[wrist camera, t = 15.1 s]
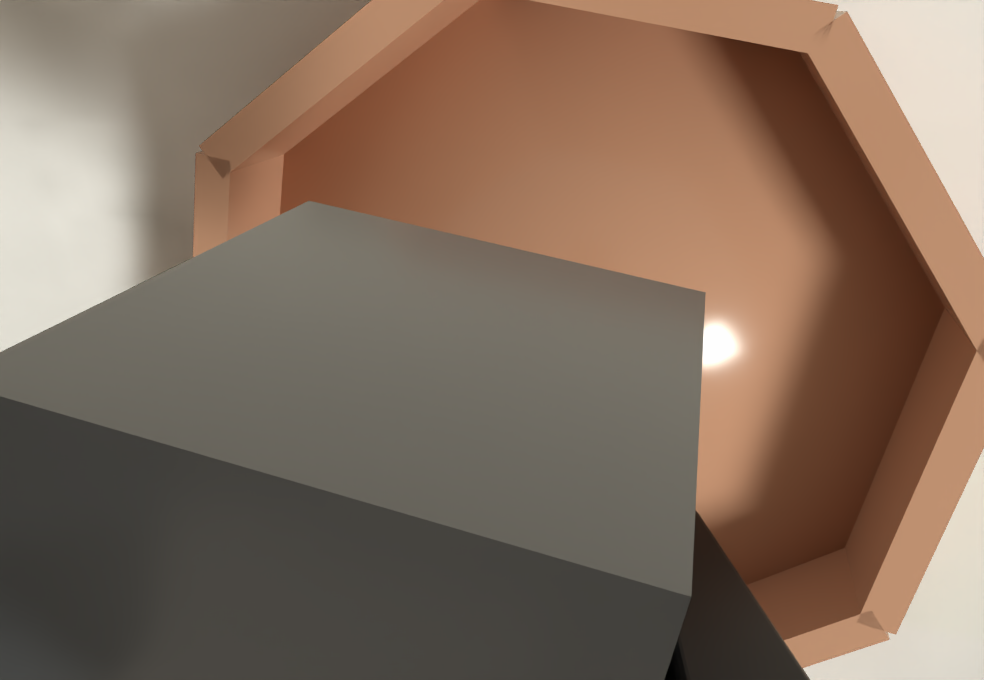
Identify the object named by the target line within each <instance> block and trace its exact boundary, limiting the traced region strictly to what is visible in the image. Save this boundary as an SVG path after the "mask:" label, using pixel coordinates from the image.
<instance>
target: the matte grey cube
mask: <svg viewBox="0 0 984 680" xmlns="http://www.w3.org/2000/svg"><path fill="white" fill-rule="evenodd" d="M705 294H706V292H702V291H697V290H693V289H689V288H684V287H680V286H676V285H671V284H667V283H663V282H658V281H654V280H650V279H645V278H641V277H637V276H633V275H628V274H624V273H620V272H615V271H611V270H607V269H602V268H598V267H594V266H589V265H585V264H581V263H576V262H572V261H568V260H563V259H559V258H555V257H550V256H546V255H542V254H537V253H533V252H529V251H524V250H520V249H516V248H512V247H507V246H503V245H499V244H494V243H490V242H486V241H481V240H477V239H473V238H468V237H464V236H460V235H455V234H451V233H447V232H442V231H438V230H434V229H429V228H425V227H421V226H416V225H412V224H408V223H403V222H399V221H395V220H390V219H386V218H382V217H378V216H373V215H369V214H365V213H360V212H356V211H352V210H347V209H343V208H339V207H334V206H330V205H326V204H321V203H317V202H313V201H307V202H305V203H303V204H301V205H299V206H297V207H295V208H293V209H291V210H289V211H287V212H285V213H283V214H281V215H279V216H277V217H275V218H273V219H271V220H269V221H267V222H265V223H263V224H260V225H258V226H256V227H254V228H252V229H250V230H248V231H246V232H244V233H242V234H240V235H238V236H236V237H234V238H232V239H230V240H228V241H226V242H224V243H222V244H220V245H218V246H216V247H214V248H212V249H210V250H208V251H206V252H203V253H201V254H199V255H197V256H195V257H193V258H191V259H189V260H187V261H185V262H183V263H181V264H179V265H177V266H175V267H173V268H171V269H169V270H167V271H165V272H163V273H161V274H159V275H157V276H155V277H153V278H151V279H149V280H146V281H144V282H142V283H140V284H138V285H136V286H134V287H132V288H130V289H128V290H126V291H124V292H122V293H120V294H118V295H116V296H114V297H112V298H110V299H108V300H106V301H104V302H102V303H100V304H98V305H96V306H94V307H92V308H89V309H87V310H85V311H83V312H81V313H79V314H77V315H75V316H73V317H71V318H69V319H67V320H65V321H63V322H61V323H59V324H57V325H55V326H53V327H51V328H49V329H47V330H45V331H43V332H41V333H39V334H37V335H35V336H32V337H30V338H28V339H26V340H24V341H22V342H20V343H18V344H16V345H14V346H12V347H10V348H8V349H6V350H4V351H2V352H0V680H664V679H665V676H666V673H667V670H668V667H669V664H670V661H671V658H672V655H673V652H674V649H675V646H676V643H677V640H678V636H679V633H680V630H681V627H682V624H683V621H684V618H685V615H686V612H687V609H688V606H689V603H690V600H691V595H692V574H693V552H694V531H695V509H696V487H697V466H698V444H699V423H700V401H701V380H702V358H703V337H704V315H705Z"/></svg>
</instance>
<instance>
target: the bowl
mask: <svg viewBox="0 0 984 680" xmlns="http://www.w3.org/2000/svg"><path fill="white" fill-rule="evenodd" d="M837 7H838V5H834V4H829V3H823V2H818V1H812V0H371V1H370V2H369V3H368V4H366V5H365V6H364V7H363V8H362V9H361V10H359V11H358V12H357V13H356V14H355V15H353V16H352V17H351V18H350V19H349V20H348V21H346V22H345V23H344V24H343V25H342V26H340V27H339V28H338V29H337V30H336V31H334V32H333V33H332V34H331V35H330V36H329V37H327V38H326V39H325V40H324V41H323V42H321V43H320V44H319V45H318V46H317V47H316V48H314V49H313V50H312V51H311V52H310V53H308V54H307V55H306V56H305V57H304V58H302V59H301V60H300V61H299V62H298V63H297V64H295V65H294V66H293V67H292V68H291V69H289V70H288V71H287V72H286V73H285V74H283V75H282V76H281V77H280V78H279V79H278V80H276V81H275V82H274V83H273V84H272V85H270V86H269V87H268V88H267V89H266V90H265V91H263V92H262V93H261V94H260V95H259V96H257V97H256V98H255V99H254V100H253V101H251V102H250V103H249V104H248V105H247V106H246V107H244V108H243V109H242V110H241V111H240V112H238V113H237V114H236V115H235V116H234V117H233V118H231V119H230V120H229V121H228V122H227V123H225V124H224V125H223V126H222V127H221V128H219V129H218V130H217V131H216V132H215V133H214V134H212V135H211V136H210V137H209V138H208V139H206V140H205V141H204V142H203V143H202V144H201V145H199V147H200V148H201V149H202V151H201V152H198V153H196V161H195V198H194V236H193V257H195V256H197V255H199V254H201V253H203V252H206V251H208V250H210V249H212V248H214V247H216V246H218V245H220V244H222V243H224V242H226V241H228V240H230V239H232V238H234V237H236V236H238V235H240V234H242V233H244V232H246V231H248V230H250V229H252V228H254V227H256V226H258V225H260V224H263V223H265V222H267V221H269V220H271V219H273V218H275V217H277V216H279V215H281V214H283V213H285V212H287V211H289V210H291V209H293V208H295V207H297V206H299V205H301V204H303V203H305V202H307V201H313V202H317V203H321V204H326V205H330V206H334V207H339V208H343V209H347V210H352V211H356V212H360V213H365V214H369V215H373V216H378V217H382V218H386V219H390V220H395V221H399V222H403V223H408V224H412V225H416V226H421V227H425V228H429V229H434V230H438V231H442V232H447V233H451V234H455V235H460V236H464V237H468V238H473V239H477V240H481V241H486V242H490V243H494V244H499V245H503V246H507V247H512V248H516V249H520V250H524V251H529V252H533V253H537V254H542V255H546V256H550V257H555V258H559V259H563V260H568V261H572V262H576V263H581V264H585V265H589V266H594V267H598V268H602V269H607V270H611V271H615V272H620V273H624V274H628V275H633V276H637V277H641V278H645V279H650V280H654V281H658V282H663V283H667V284H671V285H676V286H680V287H684V288H689V289H693V290H697V291H702V292H706V294H705V315H704V337H703V358H702V380H701V401H700V423H699V444H698V466H697V487H696V509H695V510H696V511H697V512H698V513H699V515H700V516H701V518H702V519H703V521H704V522H705V524H706V525H707V527H708V528H709V530H710V531H711V533H712V534H713V536H714V537H715V538H716V540H717V541H718V543H719V544H720V546H721V547H722V549H723V550H724V552H725V553H726V555H727V556H728V558H729V559H730V561H731V562H732V564H733V565H734V567H735V568H736V570H737V571H738V573H739V574H740V576H741V577H742V579H743V580H744V582H745V583H746V585H747V586H748V588H749V589H750V591H751V592H752V594H753V595H754V597H755V598H756V600H757V601H758V603H759V604H760V606H761V607H762V609H763V610H764V612H765V613H766V615H767V616H768V618H769V619H770V621H771V622H772V624H773V625H774V626H775V628H776V629H777V631H778V632H779V634H780V635H781V637H782V638H783V640H784V641H785V643H786V644H787V646H788V647H789V649H790V650H791V652H792V653H793V655H794V656H795V658H796V659H797V661H798V662H799V664H800V665H801V667H802V668H804V667H807V666H810V665H813V664H816V663H819V662H822V661H825V660H828V659H832V658H835V657H838V656H841V655H844V654H847V653H850V652H853V651H856V650H859V649H862V648H865V647H868V646H871V645H874V644H877V643H880V642H883V641H886V640H889V635H888V632H889V633H893V634H896V633H897V631H898V629H899V627H900V625H901V622H902V620H903V618H904V616H905V614H906V612H907V610H908V608H909V605H910V603H911V601H912V599H913V597H914V595H915V593H916V591H917V588H918V586H919V584H920V582H921V580H922V578H923V576H924V574H925V571H926V569H927V567H928V565H929V563H930V561H931V559H932V557H933V554H934V552H935V550H936V548H937V546H938V544H939V542H940V539H941V537H942V535H943V533H944V531H945V529H946V527H947V525H948V522H949V520H950V518H951V516H952V514H953V512H954V510H955V508H956V505H957V503H958V501H959V499H960V497H961V495H962V493H963V491H964V488H965V486H966V484H967V482H968V480H969V478H970V476H971V474H972V471H973V469H974V467H975V465H976V463H977V461H978V459H979V457H980V454H981V452H982V450H983V448H984V258H983V256H982V254H981V252H980V251H979V249H978V247H977V245H976V243H975V242H974V240H973V238H972V236H971V234H970V233H969V231H968V229H967V227H966V225H965V224H964V222H963V220H962V218H961V216H960V214H959V213H958V211H957V209H956V207H955V205H954V204H953V202H952V200H951V198H950V196H949V195H948V193H947V191H946V189H945V187H944V186H943V184H942V182H941V180H940V178H939V177H938V175H937V173H936V171H935V169H934V168H933V166H932V164H931V162H930V160H929V158H928V157H927V155H926V153H925V151H924V149H923V148H922V146H921V144H920V142H919V140H918V139H917V137H916V135H915V133H914V131H913V130H912V128H911V126H910V124H909V122H908V121H907V119H906V117H905V115H904V113H903V112H902V110H901V108H900V106H899V104H898V102H897V101H896V99H895V97H894V95H893V93H892V92H891V90H890V88H889V86H888V84H887V83H886V81H885V79H884V77H883V75H882V74H881V72H880V70H879V68H878V66H877V65H876V63H875V61H874V59H873V57H872V56H871V54H870V52H869V50H868V48H867V47H866V45H865V43H864V41H863V39H862V37H861V36H860V34H859V32H858V30H857V28H856V27H855V25H854V23H853V21H852V19H851V18H850V16H849V14H848V12H847V11H837Z"/></svg>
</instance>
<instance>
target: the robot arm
mask: <svg viewBox="0 0 984 680" xmlns="http://www.w3.org/2000/svg"><path fill="white" fill-rule="evenodd" d="M664 680H810V679H809V677H808V676H807V674H806V673H805V671H804V670H803V668H802V667H801V665H800V664H799V662H798V661H797V659H796V658H795V656H794V655H793V653H792V652H791V650H790V649H789V647H788V646H787V644H786V643H785V641H784V640H783V638H782V637H781V635H780V634H779V632H778V631H777V629H776V628H775V626H774V625H773V624H772V622H771V621H770V619H769V618H768V616H767V615H766V613H765V612H764V610H763V609H762V607H761V606H760V604H759V603H758V601H757V600H756V598H755V597H754V595H753V594H752V592H751V591H750V589H749V588H748V586H747V585H746V583H745V582H744V580H743V579H742V577H741V576H740V574H739V573H738V571H737V570H736V568H735V567H734V565H733V564H732V562H731V561H730V559H729V558H728V556H727V555H726V553H725V552H724V550H723V549H722V547H721V546H720V544H719V543H718V541H717V540H716V538H715V537H714V536H713V534H712V533H711V531H710V530H709V528H708V527H707V525H706V524H705V522H704V521H703V519H702V518H701V516H700V515H699V513H698V512H697V511H696V510H695V531H694V552H693V574H692V595H691V600H690V603H689V606H688V609H687V612H686V615H685V618H684V621H683V624H682V627H681V630H680V633H679V636H678V640H677V643H676V646H675V649H674V652H673V655H672V658H671V661H670V664H669V667H668V670H667V673H666V676H665V679H664Z"/></svg>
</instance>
